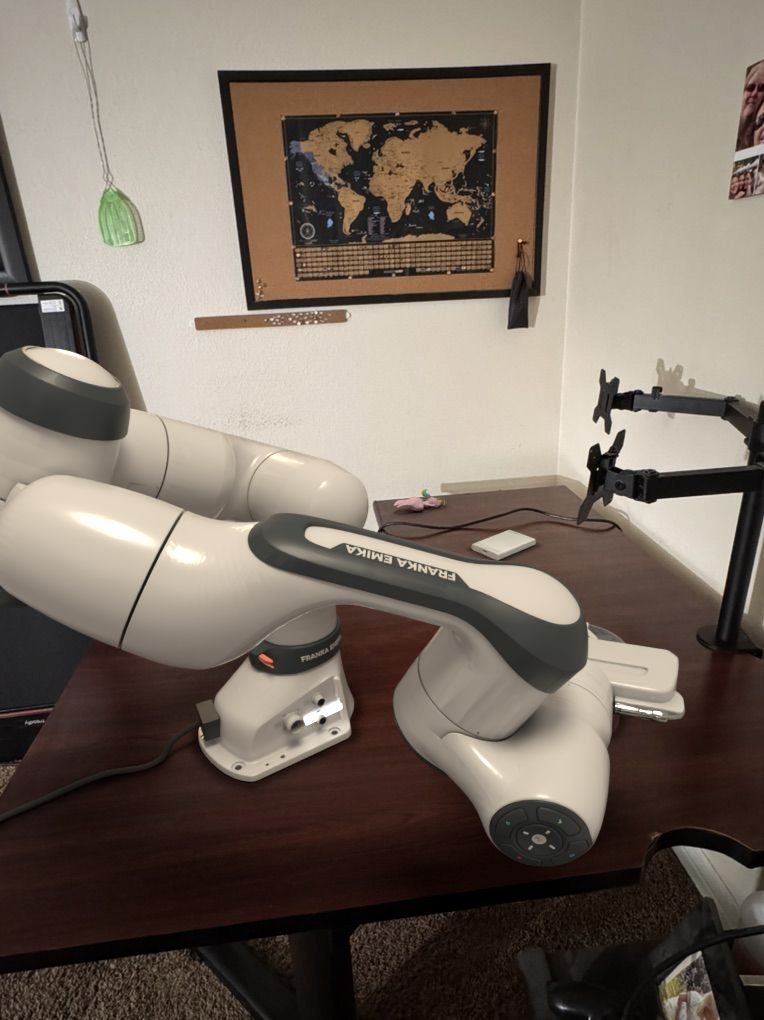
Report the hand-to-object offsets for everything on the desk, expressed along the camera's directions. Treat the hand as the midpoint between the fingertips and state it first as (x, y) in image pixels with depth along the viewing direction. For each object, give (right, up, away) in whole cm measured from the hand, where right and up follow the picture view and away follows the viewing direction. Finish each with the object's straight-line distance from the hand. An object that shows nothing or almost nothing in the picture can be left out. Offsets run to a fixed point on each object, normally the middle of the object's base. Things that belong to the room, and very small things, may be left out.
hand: (574, 625), depth 70 cm
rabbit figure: (-11, +13, +97) cm, 99 cm away
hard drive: (+6, +4, +73) cm, 74 cm away
